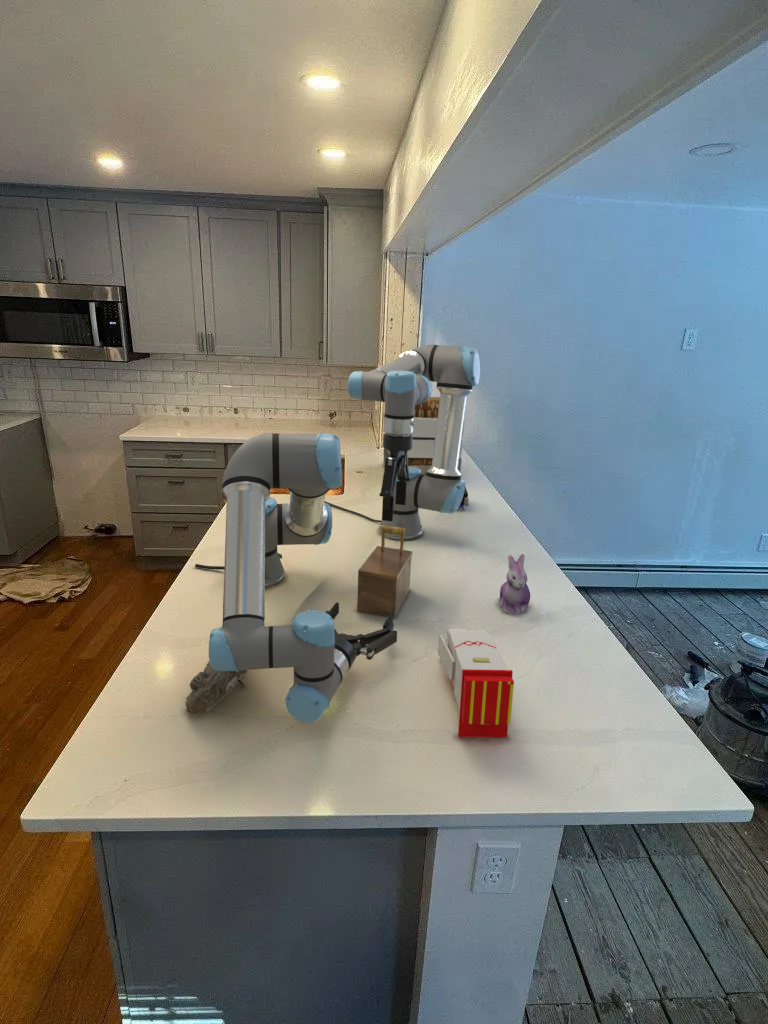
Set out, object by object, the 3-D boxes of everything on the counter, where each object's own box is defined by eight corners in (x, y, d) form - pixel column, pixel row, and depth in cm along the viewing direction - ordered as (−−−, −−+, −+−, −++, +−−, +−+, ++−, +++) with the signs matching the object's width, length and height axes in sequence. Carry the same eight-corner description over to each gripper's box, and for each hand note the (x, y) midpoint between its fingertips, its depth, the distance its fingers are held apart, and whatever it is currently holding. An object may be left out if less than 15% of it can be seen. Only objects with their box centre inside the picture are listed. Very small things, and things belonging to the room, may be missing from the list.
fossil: (206, 634, 127) (255, 603, 122) (236, 663, 130) (284, 634, 125) (163, 707, 107) (218, 674, 102) (199, 739, 110) (254, 708, 105)
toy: (488, 613, 130) (523, 677, 101) (484, 667, 133) (517, 744, 104) (435, 612, 130) (455, 676, 101) (432, 666, 133) (451, 743, 103)
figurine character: (468, 514, 225) (463, 498, 239) (470, 497, 222) (465, 482, 235) (451, 514, 225) (447, 498, 238) (453, 497, 222) (449, 481, 235)
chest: (374, 584, 163) (376, 550, 159) (409, 590, 160) (411, 556, 157) (356, 610, 148) (358, 574, 145) (394, 617, 146) (396, 581, 142)
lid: (377, 549, 160) (378, 520, 157) (412, 555, 158) (414, 525, 155) (358, 574, 145) (359, 542, 142) (396, 581, 142) (398, 548, 139)
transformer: (382, 463, 289) (386, 382, 275) (445, 464, 293) (451, 384, 279) (390, 482, 257) (394, 392, 243) (460, 483, 261) (468, 394, 247)
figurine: (512, 619, 147) (519, 566, 142) (488, 601, 156) (494, 551, 151) (540, 611, 151) (548, 560, 146) (515, 594, 160) (522, 546, 155)
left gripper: (277, 665, 120) (315, 616, 139) (390, 689, 114) (414, 635, 133) (276, 634, 118) (315, 589, 137) (392, 658, 112) (416, 607, 131)
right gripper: (400, 445, 132) (395, 530, 139) (422, 426, 155) (418, 499, 162) (369, 442, 134) (366, 525, 141) (396, 423, 157) (392, 496, 164)
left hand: (364, 612), depth 135 cm, fingers open, 13 cm apart
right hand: (394, 512), depth 152 cm, fingers open, 13 cm apart
